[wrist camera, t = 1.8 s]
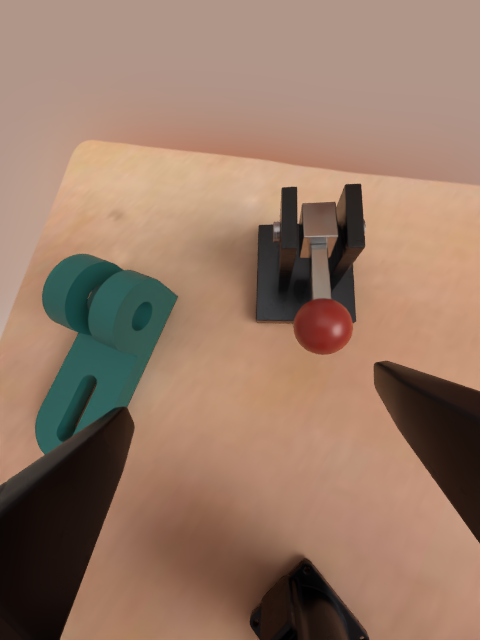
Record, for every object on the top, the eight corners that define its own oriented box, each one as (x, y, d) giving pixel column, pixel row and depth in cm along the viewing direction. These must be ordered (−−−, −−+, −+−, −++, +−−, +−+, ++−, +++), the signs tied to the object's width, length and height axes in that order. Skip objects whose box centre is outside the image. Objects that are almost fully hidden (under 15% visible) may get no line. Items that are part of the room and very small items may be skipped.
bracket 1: (124, 276, 28) (68, 239, 20) (177, 296, 27) (140, 265, 19) (43, 436, 25) (-56, 464, 18) (99, 467, 24) (17, 512, 16)
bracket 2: (352, 324, 24) (406, 291, 14) (256, 322, 25) (247, 291, 15) (347, 228, 26) (391, 143, 16) (259, 231, 27) (252, 153, 17)
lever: (346, 360, 16) (364, 347, 13) (291, 358, 16) (296, 346, 13) (334, 230, 19) (347, 195, 16) (289, 231, 20) (293, 197, 17)
